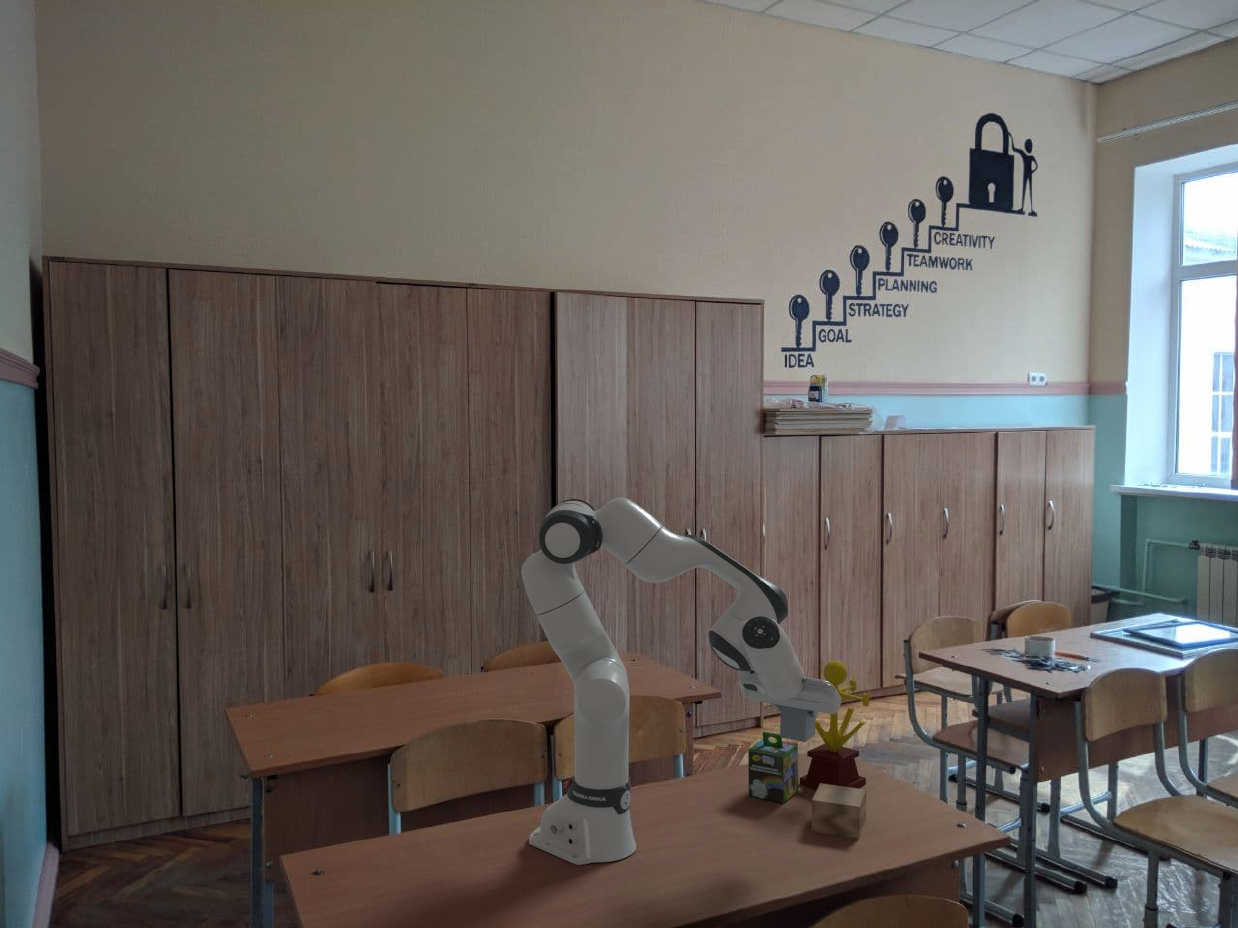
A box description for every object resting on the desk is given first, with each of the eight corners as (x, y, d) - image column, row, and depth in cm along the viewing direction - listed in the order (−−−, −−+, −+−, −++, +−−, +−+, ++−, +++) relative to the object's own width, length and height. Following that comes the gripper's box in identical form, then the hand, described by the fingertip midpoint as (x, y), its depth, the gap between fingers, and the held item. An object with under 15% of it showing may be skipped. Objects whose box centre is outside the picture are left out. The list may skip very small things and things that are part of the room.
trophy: (793, 772, 244) (794, 653, 242) (855, 772, 244) (857, 653, 242) (805, 795, 229) (806, 668, 228) (871, 795, 229) (873, 668, 228)
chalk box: (799, 791, 232) (799, 729, 231) (784, 804, 224) (784, 740, 223) (762, 783, 237) (763, 723, 236) (746, 796, 229) (747, 733, 228)
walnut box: (811, 831, 210) (812, 799, 209) (819, 813, 219) (820, 783, 219) (859, 839, 206) (859, 806, 206) (865, 820, 215) (866, 789, 215)
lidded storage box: (779, 737, 203) (779, 694, 202) (789, 729, 208) (790, 687, 207) (805, 742, 200) (806, 698, 199) (815, 734, 205) (816, 691, 204)
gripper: (836, 670, 192) (851, 706, 200) (740, 655, 202) (758, 691, 211) (828, 698, 188) (844, 734, 197) (730, 682, 199) (749, 717, 208)
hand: (799, 711), depth 204 cm, fingers closed on lidded storage box, 5 cm apart
